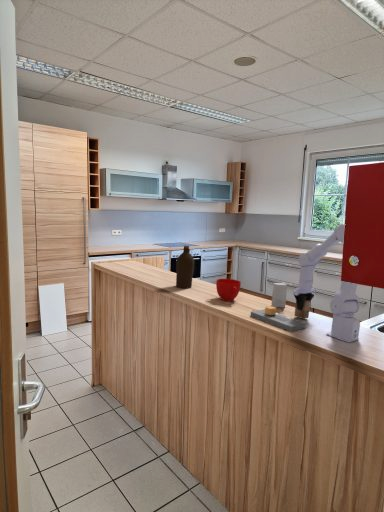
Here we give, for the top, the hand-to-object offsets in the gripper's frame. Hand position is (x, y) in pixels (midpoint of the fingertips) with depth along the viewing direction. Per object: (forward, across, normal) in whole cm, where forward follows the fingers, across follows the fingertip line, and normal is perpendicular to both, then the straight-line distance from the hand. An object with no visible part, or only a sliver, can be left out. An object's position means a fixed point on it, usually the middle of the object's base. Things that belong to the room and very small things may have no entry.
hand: (302, 309), depth 151 cm
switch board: (+4, +15, -2) cm, 16 cm away
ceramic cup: (+5, +10, -38) cm, 40 cm away
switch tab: (+2, +15, -6) cm, 16 cm away
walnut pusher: (+4, 0, 0) cm, 4 cm away
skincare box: (+5, -6, -18) cm, 20 cm away
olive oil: (+5, +14, -73) cm, 74 cm away
